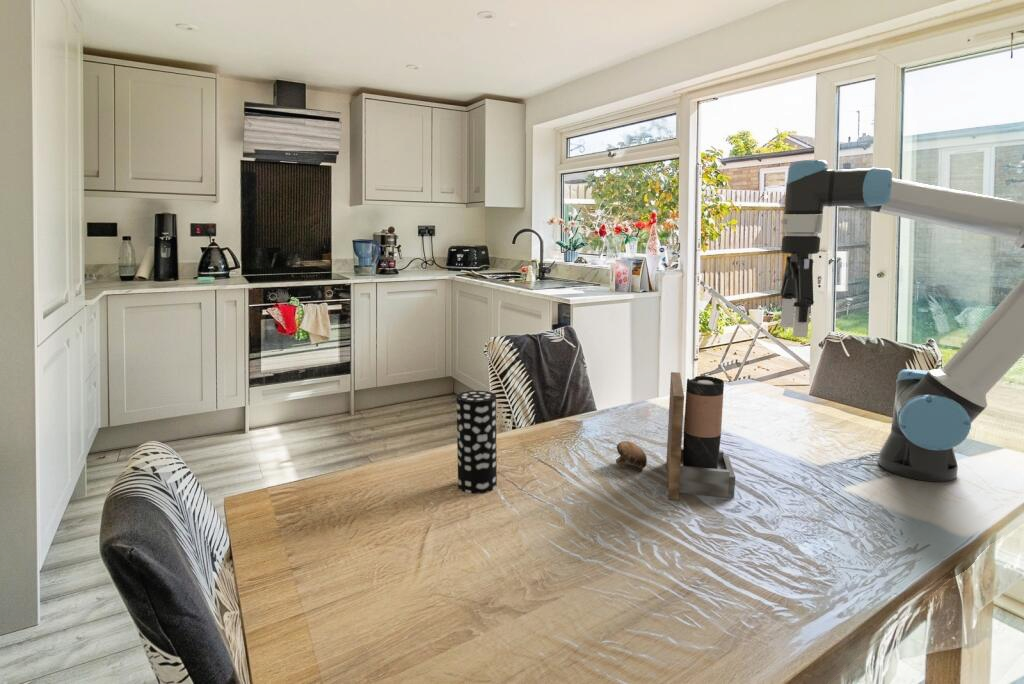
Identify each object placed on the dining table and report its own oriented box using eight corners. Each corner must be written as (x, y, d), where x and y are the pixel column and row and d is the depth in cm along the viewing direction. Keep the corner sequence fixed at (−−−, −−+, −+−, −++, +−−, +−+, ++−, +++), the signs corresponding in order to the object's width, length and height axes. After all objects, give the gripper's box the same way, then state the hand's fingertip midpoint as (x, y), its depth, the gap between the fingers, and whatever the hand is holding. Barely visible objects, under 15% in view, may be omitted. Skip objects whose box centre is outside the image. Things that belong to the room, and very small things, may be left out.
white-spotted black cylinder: (503, 481, 135) (502, 393, 131) (485, 496, 127) (484, 403, 123) (469, 475, 138) (468, 388, 134) (450, 489, 131) (448, 398, 127)
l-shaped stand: (725, 467, 142) (731, 375, 138) (736, 505, 123) (744, 399, 119) (666, 462, 145) (671, 372, 141) (668, 499, 126) (673, 395, 122)
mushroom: (604, 456, 140) (621, 434, 140) (611, 457, 148) (627, 436, 148) (632, 479, 137) (649, 456, 137) (638, 479, 145) (654, 458, 144)
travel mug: (720, 478, 129) (726, 385, 125) (682, 475, 130) (688, 383, 127) (716, 464, 136) (722, 376, 132) (680, 461, 138) (685, 375, 134)
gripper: (772, 233, 146) (765, 322, 150) (795, 236, 122) (786, 341, 126) (806, 234, 144) (798, 323, 148) (836, 236, 120) (826, 342, 124)
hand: (792, 331), depth 137 cm, fingers open, 13 cm apart
